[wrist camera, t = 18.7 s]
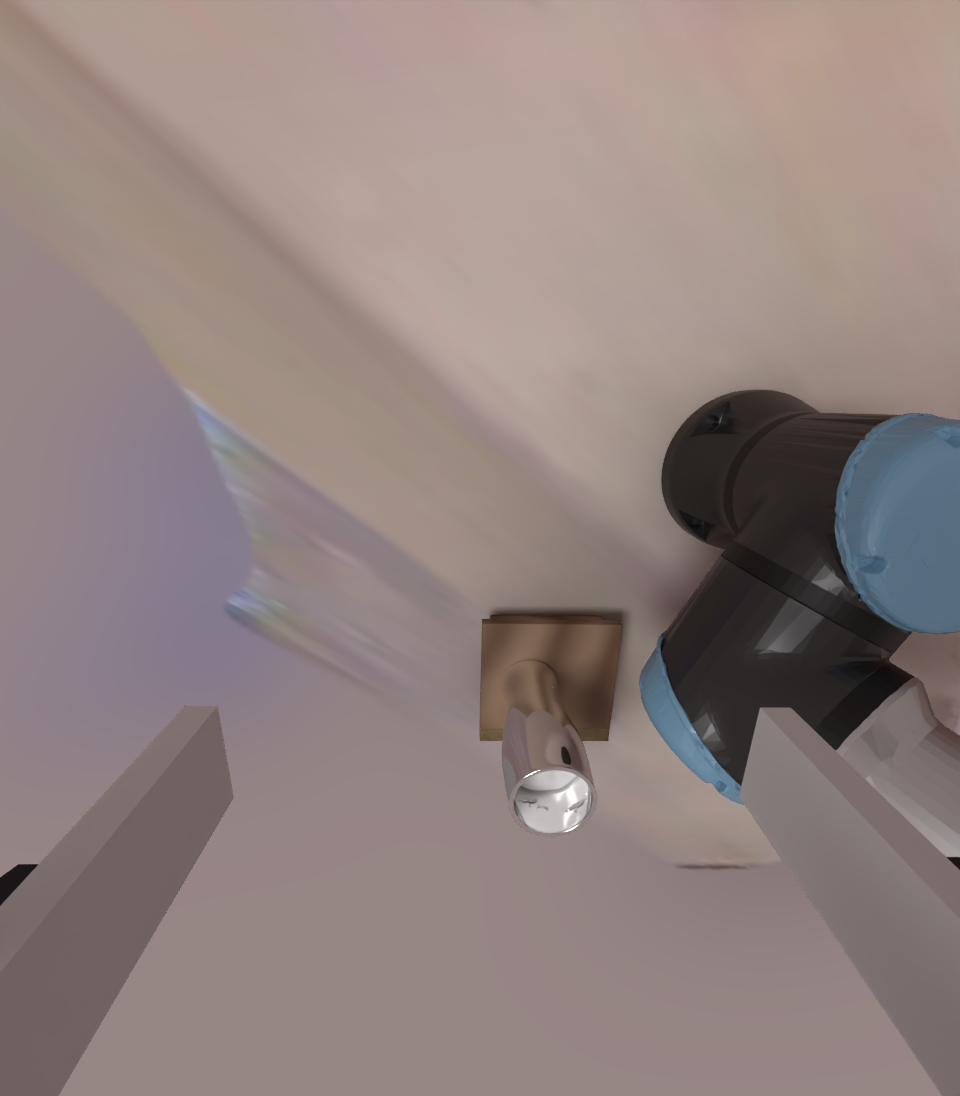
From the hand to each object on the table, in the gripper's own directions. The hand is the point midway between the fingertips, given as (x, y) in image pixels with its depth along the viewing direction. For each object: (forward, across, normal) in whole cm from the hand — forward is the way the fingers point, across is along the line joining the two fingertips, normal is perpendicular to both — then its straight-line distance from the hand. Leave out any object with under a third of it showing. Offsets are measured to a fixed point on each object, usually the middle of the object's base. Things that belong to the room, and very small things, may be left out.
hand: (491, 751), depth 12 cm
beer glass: (+33, -6, +20) cm, 39 cm away
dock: (+37, -8, +20) cm, 43 cm away
